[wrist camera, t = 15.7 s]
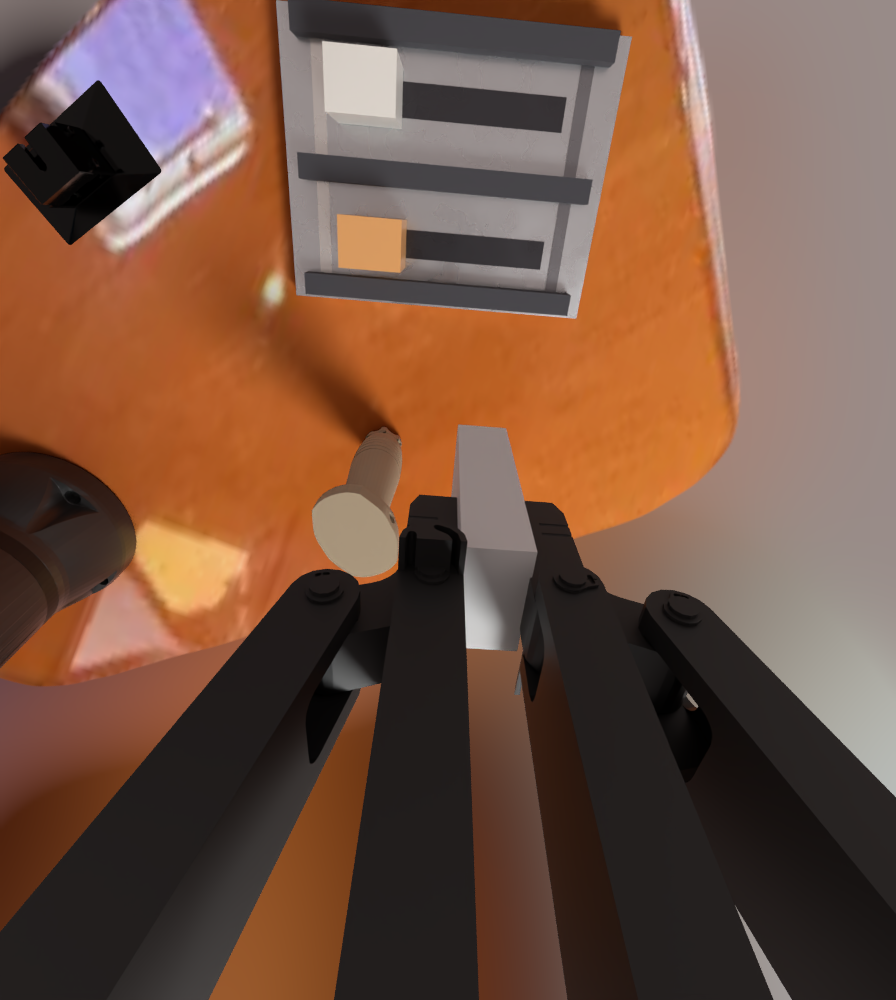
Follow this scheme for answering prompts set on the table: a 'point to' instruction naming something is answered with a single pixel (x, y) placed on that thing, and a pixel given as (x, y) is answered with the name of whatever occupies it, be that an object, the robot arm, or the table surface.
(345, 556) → the handle
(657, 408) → the table surface
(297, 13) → the slotted rail tray
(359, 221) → the toggle
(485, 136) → the panel
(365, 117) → the toggle
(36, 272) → the table surface
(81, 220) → the black notched stand
